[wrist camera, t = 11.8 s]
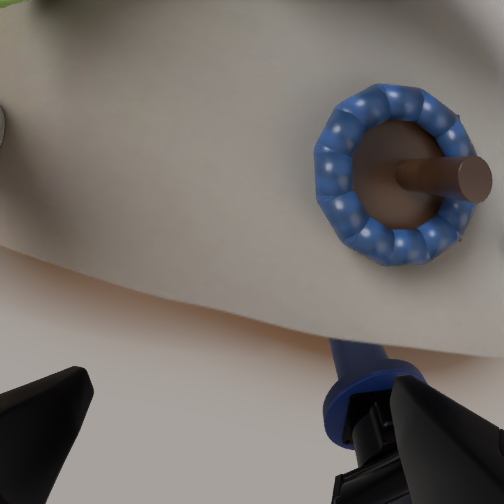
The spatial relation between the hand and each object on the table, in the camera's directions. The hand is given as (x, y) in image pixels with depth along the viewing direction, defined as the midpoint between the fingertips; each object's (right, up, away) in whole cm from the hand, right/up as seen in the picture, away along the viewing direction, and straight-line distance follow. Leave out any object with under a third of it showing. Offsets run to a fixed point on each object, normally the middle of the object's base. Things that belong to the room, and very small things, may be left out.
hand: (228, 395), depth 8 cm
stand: (+10, +9, +9) cm, 16 cm away
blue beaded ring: (+9, +8, +7) cm, 14 cm away
